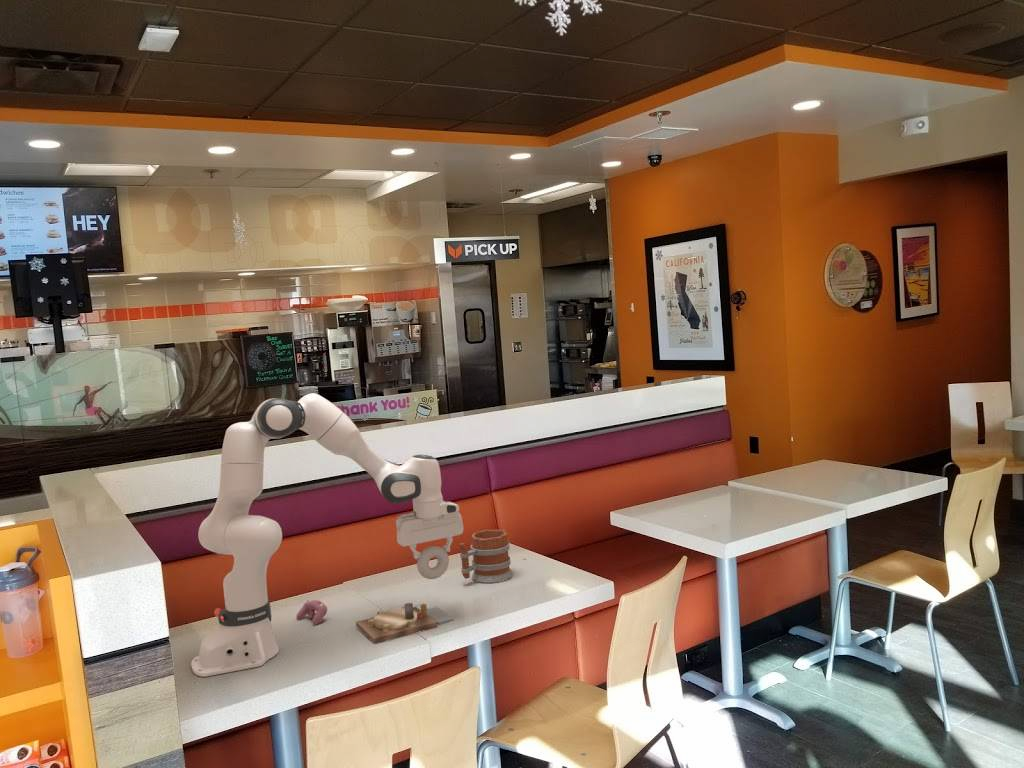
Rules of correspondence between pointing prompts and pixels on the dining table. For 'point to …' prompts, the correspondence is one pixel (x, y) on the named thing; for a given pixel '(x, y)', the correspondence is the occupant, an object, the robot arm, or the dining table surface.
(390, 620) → the index wheel
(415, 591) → the dining table surface
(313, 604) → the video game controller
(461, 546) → the mug
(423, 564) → the donut
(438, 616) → the donut mat
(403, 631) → the wheel base
